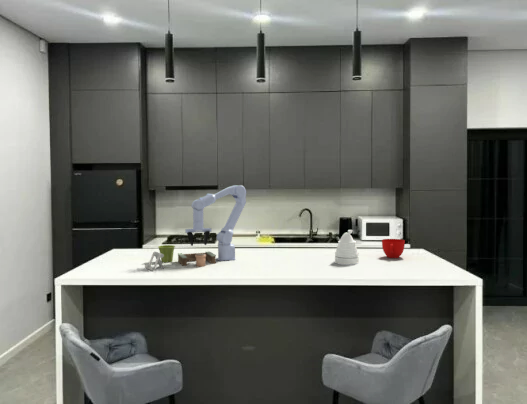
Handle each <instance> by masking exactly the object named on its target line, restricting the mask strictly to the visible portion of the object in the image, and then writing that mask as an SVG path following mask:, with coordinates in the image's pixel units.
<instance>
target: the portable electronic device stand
mask: <svg viewBox="0 0 527 404" xmlns="http://www.w3.org/2000/svg"><path fill="white" fill-rule="evenodd" d="M154 257H155V262H154V265H153V266H151V265H152V263H153V259H154ZM163 257H164V255H163V254H161V253H160V252H157V251H153V252H152V255H151V258H150V260H149V263H148V264H144V269H147V270H150V271H152V272H154V271H155V270H156V268H157V266H159V268H160V269H161V268H162V269H165V267H164V265H163V262H161V258H163Z"/></svg>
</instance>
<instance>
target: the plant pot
mask: <svg viewBox="0 0 527 404" xmlns="http://www.w3.org/2000/svg"><path fill="white" fill-rule="evenodd" d="M157 248H158V251H159V253H161V254H163V255H164V257H163V258H160V260H161V262H162V263H172V262H173V258H174V250H175V248H176V246H175V245H174V244H173V245H172V244H169V245H168V244H165V245H158V247H157Z"/></svg>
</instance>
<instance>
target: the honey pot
mask: <svg viewBox="0 0 527 404" xmlns="http://www.w3.org/2000/svg"><path fill="white" fill-rule="evenodd" d="M352 233H353V229H348V230H347V232H344V233H343V234H342V236H341V237H340V239H339V240H338V241H337V242H338V245H337V246H336V249H335V252H334V263H335V264H339V265H347V266H350V265H351V266H352V265H357V264H359V252H358V247H357V246H356V244H357V241H356V240H354V238H353V236H352V235H351V234H352Z"/></svg>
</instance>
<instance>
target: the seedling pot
mask: <svg viewBox="0 0 527 404" xmlns="http://www.w3.org/2000/svg"><path fill="white" fill-rule="evenodd" d="M195 257H196V261H195V266H196V267H197V268H199V267H200V268H203V267H206V266H207V265H206V260H205V257H206V254H196V255H195Z"/></svg>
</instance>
